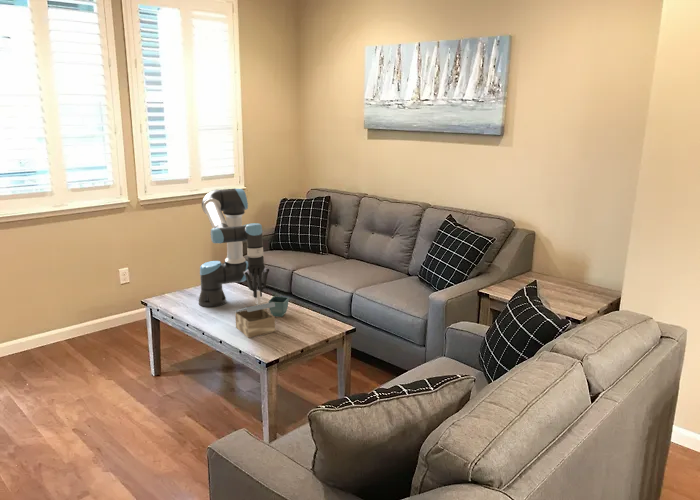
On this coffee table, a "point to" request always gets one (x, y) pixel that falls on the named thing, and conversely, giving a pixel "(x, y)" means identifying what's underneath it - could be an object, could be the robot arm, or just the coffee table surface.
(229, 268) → the robot arm
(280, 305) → the flower pot
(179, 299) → the coffee table surface
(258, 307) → the lid
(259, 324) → the crate
